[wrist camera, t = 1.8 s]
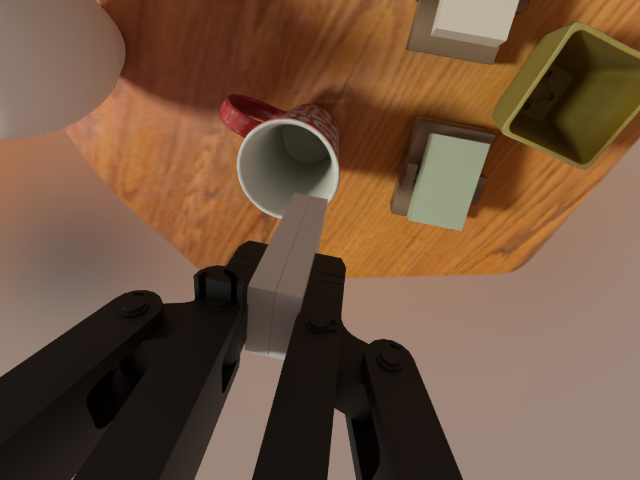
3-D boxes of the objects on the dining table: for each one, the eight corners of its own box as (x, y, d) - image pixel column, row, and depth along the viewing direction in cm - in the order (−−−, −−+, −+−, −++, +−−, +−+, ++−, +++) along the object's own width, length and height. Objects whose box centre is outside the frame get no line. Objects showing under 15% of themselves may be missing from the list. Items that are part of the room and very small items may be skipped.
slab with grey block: (414, 115, 36) (421, 124, 32) (488, 129, 36) (505, 140, 32) (388, 202, 42) (390, 221, 38) (452, 215, 42) (462, 235, 38)
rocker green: (429, 133, 34) (433, 133, 32) (482, 144, 34) (490, 144, 32) (406, 216, 36) (409, 220, 35) (455, 226, 36) (461, 230, 34)
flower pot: (471, 114, 36) (499, 132, 28) (526, 25, 31) (577, 18, 23) (540, 145, 36) (586, 172, 29) (604, 63, 32) (678, 69, 24)
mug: (364, 133, 38) (362, 172, 27) (314, 185, 42) (294, 238, 31) (281, 52, 35) (238, 55, 23) (236, 117, 39) (181, 147, 28)
